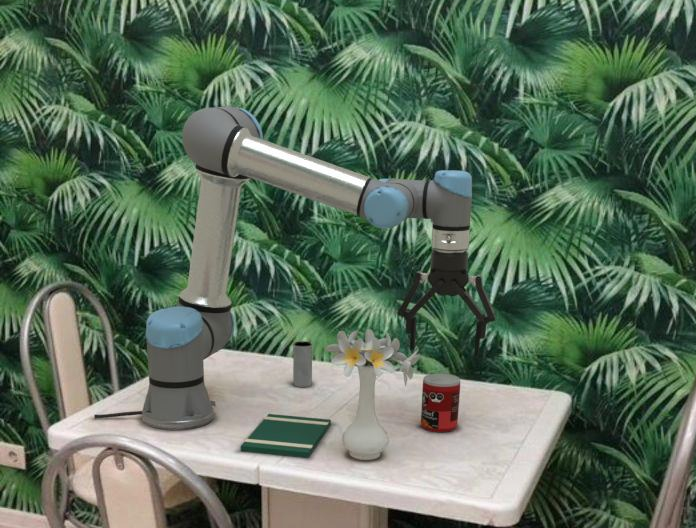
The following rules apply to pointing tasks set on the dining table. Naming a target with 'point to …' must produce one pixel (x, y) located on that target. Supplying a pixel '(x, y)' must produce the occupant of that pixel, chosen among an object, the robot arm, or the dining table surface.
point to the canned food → (440, 402)
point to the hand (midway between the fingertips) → (444, 351)
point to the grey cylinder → (302, 364)
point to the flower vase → (368, 387)
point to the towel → (286, 435)
